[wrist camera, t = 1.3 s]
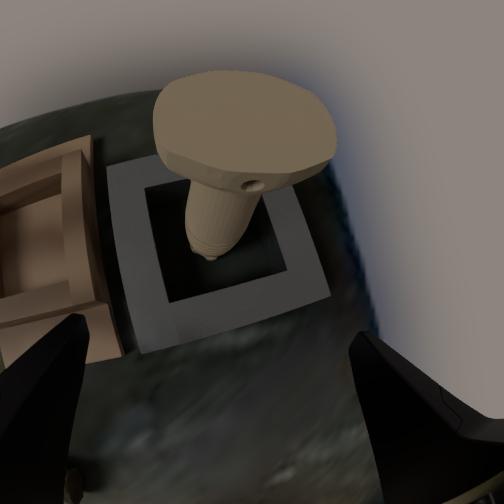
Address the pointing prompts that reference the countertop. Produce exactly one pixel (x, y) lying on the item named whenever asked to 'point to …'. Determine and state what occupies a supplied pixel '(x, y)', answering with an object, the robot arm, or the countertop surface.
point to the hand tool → (73, 486)
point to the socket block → (218, 302)
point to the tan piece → (52, 252)
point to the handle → (237, 147)
